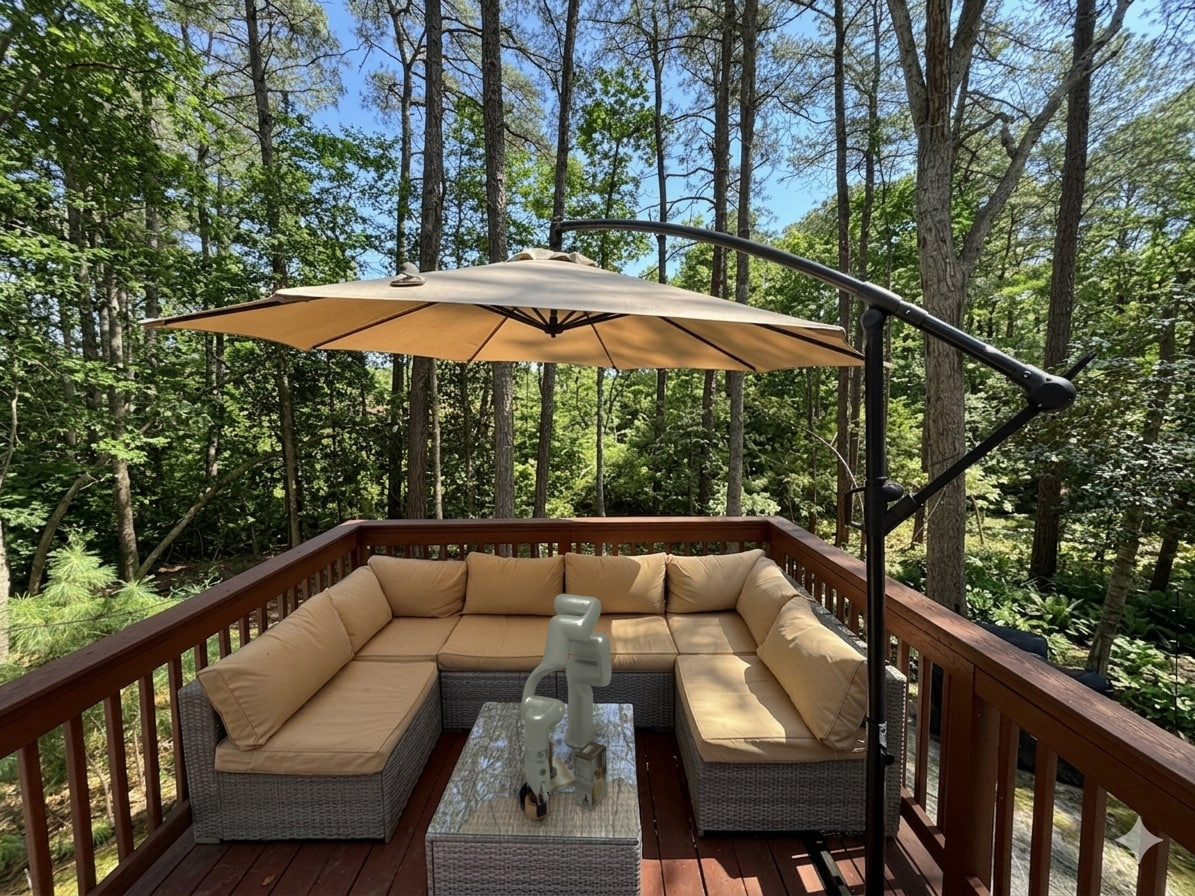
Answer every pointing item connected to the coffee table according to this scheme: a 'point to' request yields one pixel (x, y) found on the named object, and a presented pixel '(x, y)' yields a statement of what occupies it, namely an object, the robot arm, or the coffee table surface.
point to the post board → (557, 773)
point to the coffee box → (591, 775)
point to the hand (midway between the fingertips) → (536, 807)
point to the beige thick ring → (533, 806)
